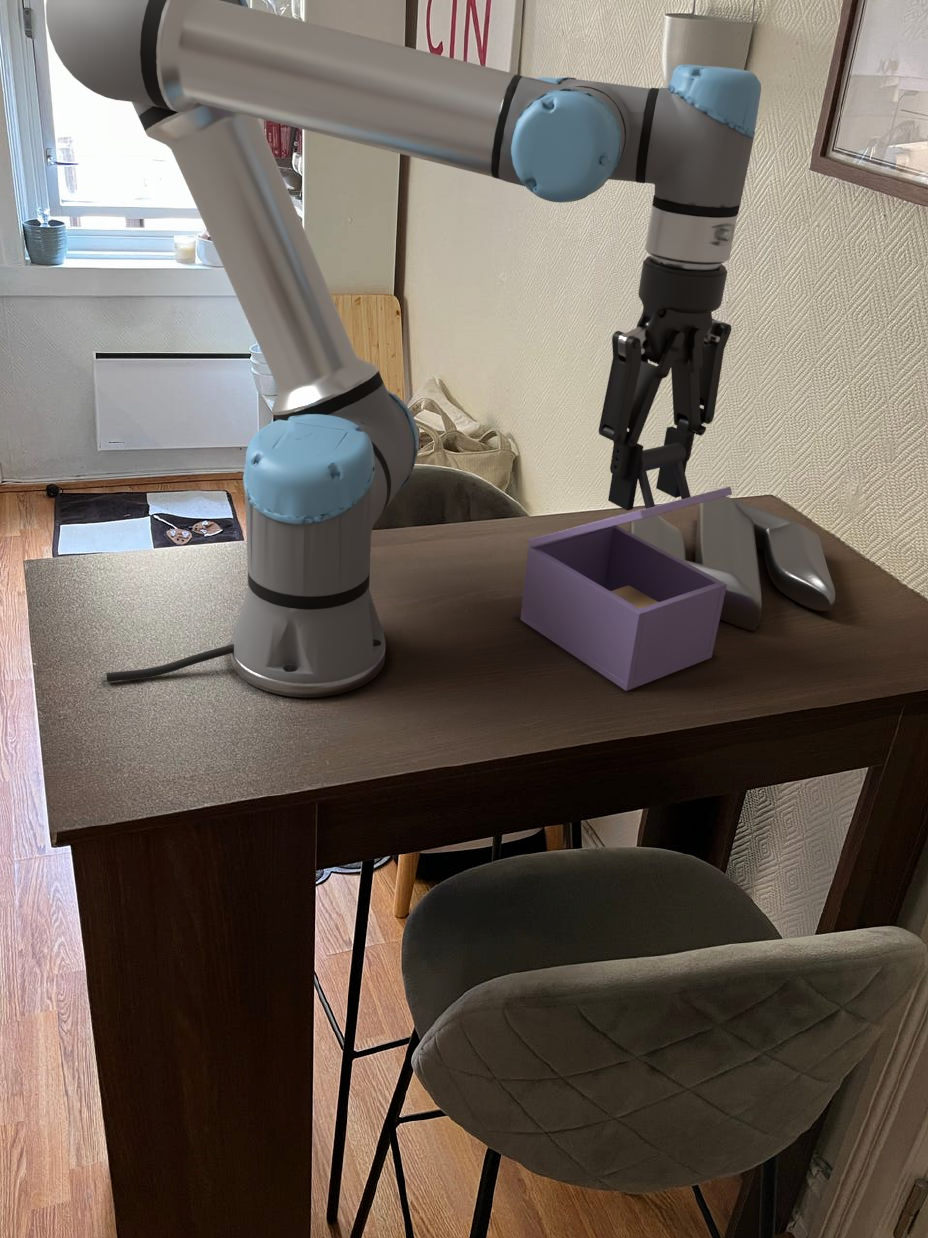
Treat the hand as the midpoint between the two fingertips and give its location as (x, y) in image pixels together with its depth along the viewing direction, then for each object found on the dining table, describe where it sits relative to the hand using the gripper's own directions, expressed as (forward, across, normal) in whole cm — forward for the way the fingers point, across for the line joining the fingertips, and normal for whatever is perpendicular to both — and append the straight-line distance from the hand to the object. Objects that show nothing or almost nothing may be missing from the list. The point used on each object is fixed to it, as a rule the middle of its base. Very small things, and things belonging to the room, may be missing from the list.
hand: (644, 498), depth 110 cm
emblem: (+17, +23, +6) cm, 29 cm away
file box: (+17, 0, +1) cm, 17 cm away
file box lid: (+3, 0, +2) cm, 4 cm away
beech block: (+16, 0, 0) cm, 16 cm away
